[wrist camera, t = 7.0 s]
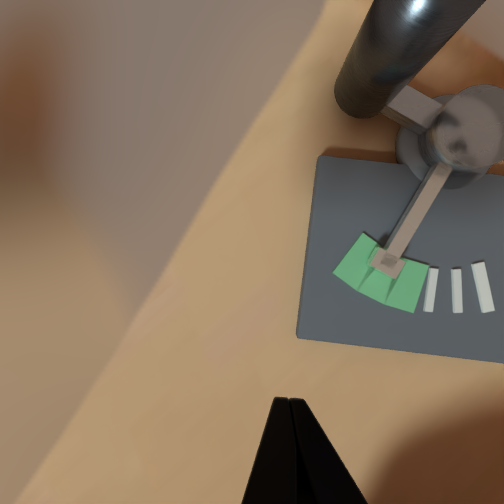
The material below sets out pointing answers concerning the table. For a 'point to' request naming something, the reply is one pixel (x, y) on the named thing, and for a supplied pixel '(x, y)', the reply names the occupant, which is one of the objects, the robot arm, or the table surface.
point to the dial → (419, 102)
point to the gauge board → (405, 259)
